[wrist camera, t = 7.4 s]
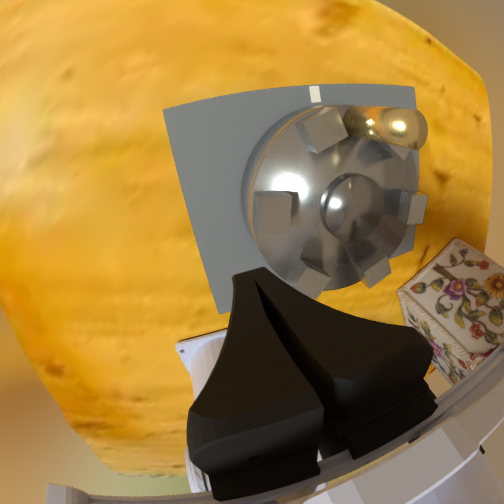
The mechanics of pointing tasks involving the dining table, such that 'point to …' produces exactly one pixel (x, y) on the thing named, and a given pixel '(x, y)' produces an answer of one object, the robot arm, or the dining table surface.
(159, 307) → the dining table surface
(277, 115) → the base plate
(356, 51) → the dining table surface
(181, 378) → the dining table surface
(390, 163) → the notched steel disc
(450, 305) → the decorative jar
